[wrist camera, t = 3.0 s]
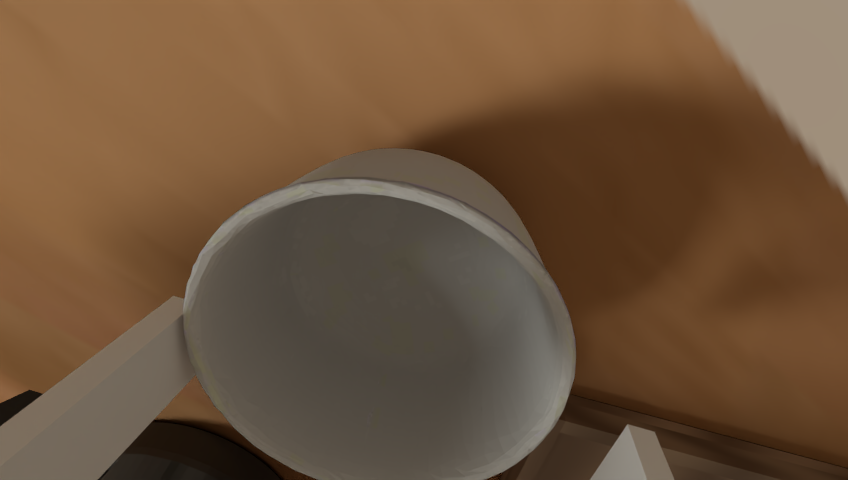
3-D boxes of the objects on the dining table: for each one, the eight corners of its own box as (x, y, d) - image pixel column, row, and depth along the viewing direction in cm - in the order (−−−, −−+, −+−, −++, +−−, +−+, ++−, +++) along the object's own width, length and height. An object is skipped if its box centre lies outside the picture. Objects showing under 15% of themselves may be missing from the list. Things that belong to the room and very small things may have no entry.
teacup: (279, 130, 16) (114, 190, 9) (549, 117, 14) (609, 179, 7) (334, 381, 22) (261, 538, 15) (531, 394, 20) (555, 579, 13)
